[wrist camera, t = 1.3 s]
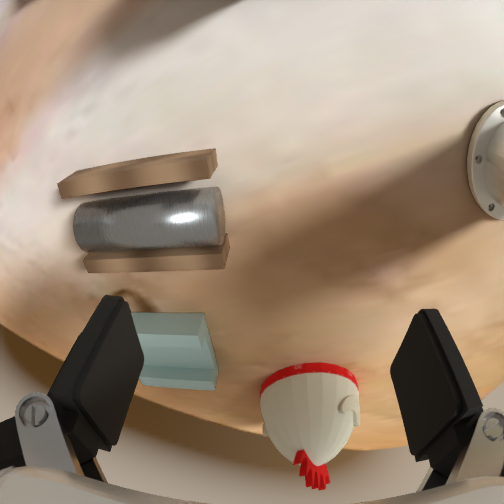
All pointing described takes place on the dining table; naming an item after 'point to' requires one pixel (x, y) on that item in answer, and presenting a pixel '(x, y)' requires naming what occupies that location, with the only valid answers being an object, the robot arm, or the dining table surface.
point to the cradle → (176, 350)
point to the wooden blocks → (145, 174)
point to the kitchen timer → (310, 415)
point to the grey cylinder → (152, 221)
